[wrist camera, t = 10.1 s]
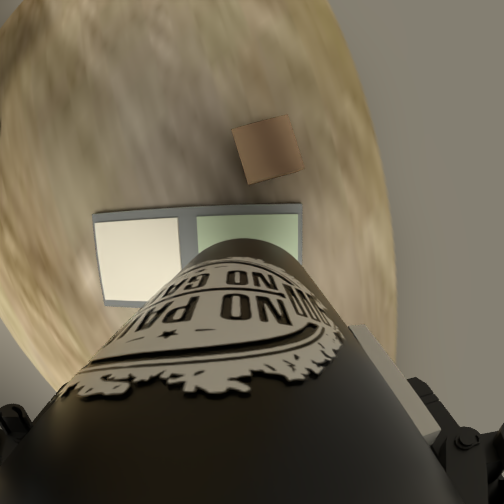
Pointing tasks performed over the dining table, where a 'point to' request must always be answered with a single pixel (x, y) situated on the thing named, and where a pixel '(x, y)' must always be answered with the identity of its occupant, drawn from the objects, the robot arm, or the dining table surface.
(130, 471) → the black travel mug
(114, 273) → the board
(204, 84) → the dining table surface
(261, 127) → the walnut block
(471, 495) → the robot arm
